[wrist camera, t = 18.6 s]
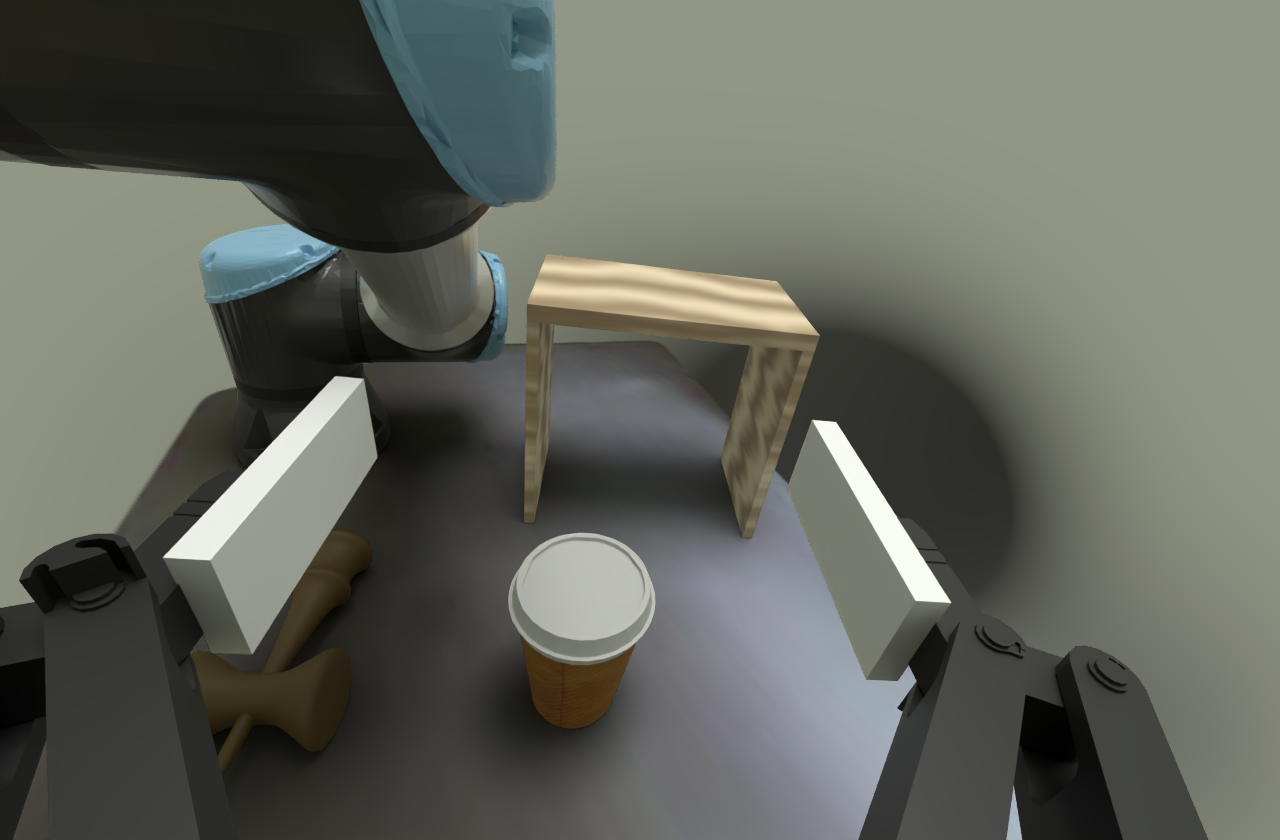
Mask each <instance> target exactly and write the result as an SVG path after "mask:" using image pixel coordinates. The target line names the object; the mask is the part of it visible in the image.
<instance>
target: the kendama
mask: <svg viewBox="0 0 1280 840" xmlns="http://www.w3.org/2000/svg"><path fill="white" fill-rule="evenodd" d="M371 562H372V549H371V547H370V545H369V543H368V542H367V541H366V540H365V539H363V538H362V537H361V536H360V535H358V534H355V533H353V532H350V531H346V530H340V529H334V530H331V531H330V533H329V534H328V536H327V538H326V539H325V541H324V542H323V544H322V545H321V547H320V549H319V550H318V552H317V553H316V555H315V556H314V558H313V560H312V561H311V563H310V564H309V566H308V568H307V569H306V571H305V572H304V574H303V575H302V577H301V579H300V580H299V582H298V583H297V585H296V586H295V588H294V590H293V591H292V593H291V595H292V600H291V603H290V607H289V609H288V612H287V615H286V618H285V620H284V623H283V625H282V628H281V630H280V633H279V635H278V637H277V640H276V642H275V644H274V647H273V649H272V651H271V653H270V655H269V657H268V660H267V662H266V664H265V666H264V668H263V670H262V672H261V673H249V672H243V671H240V670H238V669H236V668H234V667H233V666H231V665H230V664H228V663H227V662H225V661H224V660H223V659H221V658H220V657H218V656H216V655H215V654H212V653H209V652H202V651H198V652H194V653H193V654H191V657H192V659H193V660H194V663H195V667H196V671H197V675H198V679H199V683H200V688H201V692H202V696H203V700H204V704H205V708H206V712H207V716H208V720H209V724H210V728H211V732H212V735H213V734H215V733H217V732H220V731H222V730H224V729H227V728H231V727H233V728H232V730H231V732H230V734H229V735H228V737H227V739H226V741H225V743H224V745H223V747H222V749H221V750H220V752H219V754H218V756H217V757H218V761H219V765H220V769H221V773H222V777H223V776H224V775H225V773H226V771H227V770H228V768H229V766H230V765H231V763H232V761H233V759H234V758H235V756H236V754H237V753H238V751H239V749H240V747H241V746H242V744H243V742H244V741H245V739H246V737H247V735H248V734H249V732H250V730H251V729H252V727H253V725H254V724H267V725H275V726H277V727H279V728H281V729H282V730H284V731H285V732H287V733H288V734H289V735H290V736H291V737H292V738H294V739H295V740H296V741H297V742H298V743H299V744H300V745H301V746H303V747H304V748H305V749H306V750H308V751H310V752H315V751H320V750H323V749H324V748H325V746H326V745H327V744H328V743H329V741H330V740H331V739H332V737H333V736H334V734H335V732H336V730H337V728H338V726H339V724H340V722H341V720H342V717H343V714H344V711H345V708H346V705H347V702H348V697H349V692H350V687H351V665H350V659H349V657H348V655H347V653H346V651H345V650H344V649H343V648H338V647H332V648H330V649H327V650H326V651H324V652H322V653H320V654H318V655H317V656H315V657H313V658H311V659H310V660H308V661H306V662H304V663H303V664H301V665H299V666H297V667H295V668H293V669H290V670H287V669H288V668H289V666H290V664H291V663H292V661H293V660H294V658H295V657H296V655H297V654H298V652H299V651H300V650H301V648H302V647H303V645H304V644H305V642H306V641H307V640H308V638H309V637H310V635H311V634H312V633H313V631H314V630H315V629H316V627H317V626H318V625H319V623H320V622H321V621H322V620H323V618H324V617H325V616H326V615H327V614H328V613H329V612H330V611H331V610H332V609H333V608H334V607H337V606H340V605H342V604H345V603H346V602H347V600H348V599H349V598H350V595H351V587H350V585H349V584H350V581H351V580H352V578H353V577H354V576H355V575H356V574H357V573H359V572H362V571H364V570H366V569H367V568H368V566H369V565H370V563H371Z"/></svg>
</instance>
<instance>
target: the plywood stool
mask: <svg viewBox="0 0 1280 840" xmlns="http://www.w3.org/2000/svg"><path fill="white" fill-rule="evenodd" d="M554 325H562V326H571V327H581V328H591V329H600V330H609V331H619V332H628V333H638V334H647V335H656V336H666V337H675V338H685V339H695V340H704V341H713V342H723V343H732V344H742V345H750V349H749V353H748V357H747V361H746V364H745V368H744V372H743V376H742V380H741V383H740V387H739V391H738V395H737V398H736V402H735V406H734V410H733V414H732V417H731V421H730V425H729V429H728V432H727V436H726V440H725V444H724V448H723V451H722V455H721V461H722V465H723V469H724V472H725V476H726V480H727V483H728V487H729V491H730V494H731V498H732V502H733V505H734V509H735V513H736V516H737V520H738V524H739V527H740V531H741V535H742V538H752V535H753V532H754V529H755V526H756V523H757V520H758V517H759V514H760V511H761V508H762V505H763V502H764V499H765V496H766V493H767V490H768V487H769V485H770V482H771V479H772V476H773V473H774V470H775V466H776V464H777V461H778V458H779V455H780V452H781V449H782V446H783V443H784V440H785V437H786V434H787V431H788V428H789V425H790V422H791V419H792V416H793V414H794V411H795V408H796V405H797V402H798V399H799V396H800V392H801V390H802V387H803V384H804V381H805V378H806V375H807V372H808V369H809V366H810V363H811V360H812V357H813V354H814V351H815V348H816V345H817V342H818V339H819V337H820V335H819V334H818V333H817V332H816V330H815V329H814V328H813V327H812V325H811V324H810V323H809V322H808V320H807V319H806V318H805V317H804V315H803V314H802V313H801V312H800V310H799V309H798V308H797V306H796V305H795V304H794V303H793V301H792V300H791V299H790V298H789V296H788V295H787V294H786V292H785V291H784V290H783V289H782V287H781V286H780V285H779V284H778V282H776V281H768V280H760V279H751V278H743V277H735V276H726V275H718V274H708V273H700V272H693V271H683V270H676V269H667V268H659V267H650V266H641V265H633V264H625V263H617V262H608V261H600V260H591V259H582V258H575V257H566V256H558V255H549V254H547V256H546V258H545V261H544V263H543V266H542V268H541V271H540V273H539V276H538V278H537V281H536V283H535V286H534V288H533V291H532V293H531V296H530V298H529V300H528V303H527V347H526V418H525V490H524V523H534V520H535V515H536V510H537V504H538V499H539V494H540V488H541V483H542V478H543V472H544V467H545V462H546V456H547V451H548V446H549V429H550V406H551V383H552V360H553V336H554Z"/></svg>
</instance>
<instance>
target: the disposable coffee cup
mask: <svg viewBox="0 0 1280 840" xmlns="http://www.w3.org/2000/svg"><path fill="white" fill-rule="evenodd" d="M508 603H509V611H510V614H511V617H512V620H513V623H514V625H515V627H516V629H517V630H518V632H519V633H520V637H521V643H522V648H523V653H524V657H525V663H526V668H527V673H528V678H529V683H530V688H531V692H532V698H533V702H534V705H535V707H536V709H537V711H538V712H539V713H540V714H541V715H542V716H543V717H544V719H546V720H547V721H548V722H550V723H552V724H554V725H556V726H559V727H563V728H571V729H575V728H581V727H585V726H588V725H590V724H592V723H594V722H595V721H597V720H599V719H600V718H601V717H602V716H603V715H604V714H605V713H606V711H607V710H608V708H609V707H610V704H611V702H612V700H613V697H614V695H615V692H616V690H617V687H618V685H619V683H620V680H621V678H622V676H623V673H624V671H625V668H626V666H627V664H628V661H629V659H630V656H631V654H632V652H633V649H634V647H635V645H636V643H637V642H638V641H639V640H640V639H641V637H642V636H643V635H644V633H645V632H646V631H647V629H648V627H649V625H650V623H651V621H652V618H653V615H654V609H655V592H654V589H653V585H652V582H651V580H650V577H649V575H648V572H647V570H646V567H645V565H644V564H643V562H642V561H641V559H640V558H639V557H638V556H637V555H636V553H635V552H633V551H632V550H631V549H630V548H629V547H627V546H626V545H624V544H622V543H621V542H619V541H617V540H615V539H613V538H610V537H606V536H603V535H599V534H591V533H573V534H566V535H561V536H558V537H555V538H553V539H550V540H548V541H546V542H544V543H543V544H541V545H539V546H538V547H537V548H536V549H535V550H533V551H532V552H531V553H530V554H529V555H528V556H527V557H526V559H525V560H524V562H523V564H522V566H521V567H520V568H519V570H518V571H517V573H516V574H515V576H514V578H513V580H512V583H511V587H510V590H509V598H508Z"/></svg>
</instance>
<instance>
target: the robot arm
mask: <svg viewBox="0 0 1280 840" xmlns="http://www.w3.org/2000/svg"><path fill="white" fill-rule="evenodd" d="M556 132H557V131H556V55H555V14H554V0H0V161H9V162H20V163H34V164H45V165H49V166H60V167H72V168H86V169H100V170H107V171H118V172H131V173H143V174H156V175H168V176H181V177H194V178H206V179H218V180H232V181H239V182H242V183H243V184H244V185H245V186H246V187H247V188H248V189H249V190H250V191H251V192H252V193H253V194H254V195H255V196H256V198H258V199H259V200H260V201H261V202H262V203H263V204H264V205H265V206H266V207H267V208H269V209H270V210H271V211H272V212H273V213H274V214H275V215H277V216H278V217H280V218H281V219H282V220H284V221H285V222H286V223H288V224H282V225H273V226H265V227H259V228H253V229H248V230H244V231H240V232H236V233H232V234H229V235H226V236H224V237H221V238H219V239H217V240H215V241H213V242H211V243H210V244H208V245H207V246H206V247H205V248H204V249H203V250H202V252H201V254H200V257H199V267H200V271H201V275H202V279H203V283H204V287H205V291H206V292H205V299H206V302H207V303H209V306H210V309H211V312H212V315H213V318H214V320H215V324H216V326H217V330H218V333H219V336H220V338H221V342H222V344H223V347H224V350H225V353H226V356H227V359H228V362H229V365H230V368H231V371H232V374H233V377H234V380H235V383H236V386H237V390H238V396H237V405H236V413H235V422H234V430H233V443H234V446H235V449H236V452H237V455H238V458H239V460H240V462H241V464H242V465H243V466H244V467H245V468H246V469H247V470H246V471H242V470H227V471H225V472H223V473H221V474H219V475H218V476H216V477H214V478H212V479H211V480H209V481H207V482H205V483H204V484H203V485H202V486H201V487H200V488H199V489H198V490H197V491H196V492H195V493H194V494H193V495H191V496H190V497H189V498H188V499H187V503H183V504H182V505H181V506H180V507H179V508H178V509H177V510H176V511H175V512H174V513H173V514H174V515H173V517H169V518H168V519H167V520H166V521H165V522H164V523H163V524H162V525H161V526H160V527H159V528H158V529H157V530H156V531H155V532H154V533H153V534H152V535H151V536H150V537H148V538H147V539H146V540H145V541H144V542H143V543H142V544H141V545H140V546H139V547H138V548H137V549H136V550H135V551H134V552H133V550H132V548H131V547H130V545H129V543H128V542H127V541H126V539H125V538H124V537H121V536H118V535H115V534H92V535H88V536H83V537H79V538H74V539H72V540H69V541H67V542H64V543H61V544H59V545H56V546H54V547H52V548H51V549H49V550H47V551H46V552H44V553H42V554H41V555H39V556H37V557H36V558H35V559H34V560H33V561H32V562H31V563H30V564H29V565H28V566H27V567H26V568H24V570H23V572H22V575H21V577H20V580H19V581H20V583H21V584H22V585H23V586H24V588H25V589H26V590H27V592H28V593H29V594H30V596H31V597H32V598H33V600H34V601H35V602H33V603H27V604H21V605H15V606H9V607H4V608H0V840H12V839H13V836H14V833H15V830H16V827H17V824H18V821H19V819H20V816H21V813H22V810H23V807H24V804H25V801H26V798H27V795H28V792H29V789H30V786H31V783H32V780H33V777H34V774H35V771H36V768H37V765H38V762H39V759H40V756H41V753H42V750H43V747H44V745H45V742H46V739H47V772H48V816H49V840H238V839H237V835H236V831H235V826H234V822H233V818H232V814H231V810H230V806H229V802H228V798H227V794H226V790H225V786H224V781H223V777H222V773H221V769H220V765H219V761H218V757H217V753H216V749H215V745H214V741H213V737H212V732H211V728H210V724H209V720H208V716H207V712H206V708H205V704H204V700H203V696H202V692H201V688H200V683H199V679H198V675H197V671H196V667H195V663H194V660H193V659H192V657H191V655H190V651H191V650H192V649H193V647H194V646H195V645H196V643H197V642H198V641H199V639H200V638H201V637H202V635H203V637H204V639H205V641H206V642H207V644H208V646H209V648H210V650H211V652H212V653H229V654H253V653H254V651H255V649H256V648H257V646H258V645H259V643H260V642H261V640H262V638H263V637H264V635H265V634H266V632H267V631H268V629H269V627H270V626H271V624H272V623H273V621H274V619H275V618H276V616H277V615H278V613H279V612H280V610H281V608H282V607H283V605H284V604H285V602H286V601H287V599H288V597H289V596H290V594H291V593H292V591H293V590H294V588H295V586H296V585H297V583H298V582H299V580H300V579H301V577H302V575H303V574H304V572H305V571H306V569H307V568H308V566H309V564H310V563H311V561H312V560H313V558H314V556H315V555H316V553H317V552H318V550H319V549H320V547H321V545H322V544H323V542H324V541H325V539H326V538H327V536H328V534H329V533H330V531H331V530H332V528H333V527H334V525H335V523H336V522H337V520H338V519H339V517H340V516H341V514H342V512H343V511H344V509H345V508H346V506H347V505H348V503H349V501H350V500H351V498H352V497H353V495H354V493H355V492H356V490H357V489H358V487H359V486H360V484H361V482H362V481H363V479H364V478H365V476H366V475H367V473H368V471H369V470H370V468H371V467H372V465H373V464H374V462H375V460H376V459H377V454H378V453H380V451H381V450H382V449H383V448H384V447H385V446H386V444H387V443H388V441H389V438H390V433H391V430H390V424H389V417H388V413H387V411H386V408H385V407H384V405H383V403H382V402H381V400H380V398H379V397H378V395H377V393H376V392H375V390H374V388H373V387H372V385H371V383H370V382H369V380H368V379H367V377H366V375H365V373H364V369H363V363H374V362H466V363H476V362H478V361H488V360H492V359H495V358H496V357H498V356H499V354H500V353H501V351H502V349H503V347H504V343H505V332H506V329H507V320H508V295H507V283H506V276H505V271H504V268H503V265H502V263H501V261H500V259H499V258H498V257H497V256H496V255H494V254H491V253H485V252H483V251H479V250H478V222H479V221H480V220H481V218H483V217H484V216H485V215H486V214H487V212H488V211H489V210H490V208H491V207H492V206H493V207H508V206H510V205H512V204H514V203H517V202H536V201H539V200H541V199H543V198H545V197H546V196H547V195H548V194H549V193H550V192H551V190H552V189H553V187H554V183H555V177H556V153H557V152H556V151H557V148H556V147H557V138H556V137H557V134H556ZM787 490H788V493H789V495H790V497H791V500H792V502H793V505H794V507H795V509H796V512H797V514H798V517H799V519H800V521H801V524H802V526H803V529H804V531H805V534H806V536H807V538H808V541H809V543H810V546H811V548H812V550H813V553H814V555H815V558H816V560H817V562H818V565H819V567H820V570H821V572H822V575H823V577H824V579H825V582H826V584H827V587H828V589H829V591H830V594H831V596H832V599H833V601H834V603H835V606H836V608H837V611H838V613H839V616H840V618H841V620H842V623H843V625H844V628H845V630H846V632H847V635H848V637H849V640H850V642H851V644H852V647H853V649H854V652H855V654H856V657H857V659H858V661H859V664H860V666H861V669H862V671H863V673H864V676H865V678H866V680H888V681H898V680H899V678H900V677H901V675H902V674H903V673H904V671H905V670H906V668H907V667H908V665H909V666H910V668H911V670H912V673H913V675H914V677H915V679H916V683H915V684H914V686H913V687H912V688H911V690H910V691H909V693H908V694H907V695H906V697H905V698H904V700H903V701H902V702H901V704H900V705H899V706H898V709H899V710H901V711H903V713H902V716H901V719H900V722H899V725H898V727H897V730H896V733H895V736H894V739H893V742H892V745H891V748H890V750H889V753H888V756H887V759H886V762H885V765H884V768H883V770H882V773H881V776H880V779H879V782H878V785H877V788H876V791H875V793H874V796H873V799H872V802H871V805H870V808H869V811H868V814H867V816H866V819H865V822H864V825H863V828H862V831H861V834H860V837H859V839H858V840H1006V838H1007V830H1008V823H1009V815H1010V808H1011V800H1012V793H1013V785H1014V789H1015V795H1016V802H1017V808H1018V815H1019V821H1020V827H1021V834H1022V840H1208V838H1207V836H1206V833H1205V831H1204V828H1203V826H1202V823H1201V821H1200V819H1199V816H1198V814H1197V812H1196V809H1195V807H1194V804H1193V802H1192V800H1191V797H1190V795H1189V792H1188V790H1187V787H1186V785H1185V783H1184V780H1183V778H1182V775H1181V773H1180V770H1179V768H1178V766H1177V763H1176V761H1175V759H1174V756H1173V754H1172V752H1171V749H1170V746H1169V744H1168V742H1167V739H1166V737H1165V734H1164V732H1163V730H1162V727H1161V725H1160V722H1159V720H1158V717H1157V715H1156V713H1155V710H1154V708H1153V705H1152V703H1151V701H1150V698H1149V696H1148V693H1147V691H1146V689H1145V688H1144V686H1143V685H1142V683H1141V681H1140V680H1139V678H1138V677H1137V676H1136V675H1135V674H1134V673H1133V672H1132V671H1131V670H1130V669H1129V668H1128V667H1127V666H1125V665H1124V664H1123V663H1121V662H1120V661H1118V660H1117V659H1116V658H1114V657H1113V656H1111V655H1109V654H1107V653H1105V652H1103V651H1101V650H1099V649H1096V648H1092V647H1088V646H1075V647H1074V648H1073V649H1072V650H1071V651H1070V652H1069V653H1068V654H1067V655H1066V656H1065V657H1064V658H1061V657H1059V656H1055V655H1053V654H1049V653H1046V652H1043V651H1040V650H1036V649H1034V648H1031V647H1028V646H1026V645H1025V643H1024V641H1023V639H1022V638H1021V637H1020V636H1019V635H1018V634H1017V633H1016V632H1015V631H1014V630H1013V629H1012V628H1011V627H1009V626H1008V625H1006V624H1005V623H1003V622H1002V621H1000V620H999V619H997V618H994V617H992V616H989V615H987V614H983V613H981V612H980V610H979V609H978V607H977V606H976V605H975V603H974V601H973V600H972V599H971V597H970V596H969V594H968V593H967V591H966V590H965V588H964V587H963V585H962V584H961V582H960V581H959V580H958V578H957V576H956V575H955V574H954V572H953V571H952V569H951V568H950V566H947V562H946V561H945V559H944V558H943V556H942V555H941V553H939V552H938V549H937V547H936V546H935V544H934V543H933V541H932V540H931V539H930V537H929V535H928V534H927V533H926V532H925V531H924V530H922V529H921V528H920V527H919V526H918V525H917V524H916V523H915V522H913V521H912V520H911V519H910V518H897V517H896V515H895V514H894V512H893V511H892V509H891V508H890V506H889V504H888V503H887V502H886V500H885V498H884V497H883V495H882V493H881V492H880V490H879V489H878V487H877V486H876V484H875V483H874V481H873V479H872V478H871V476H870V475H869V473H868V472H867V470H866V468H865V467H864V465H863V464H862V462H861V461H860V459H859V457H858V456H857V454H856V453H855V451H854V450H853V448H852V447H851V445H850V443H849V442H848V440H847V439H846V437H845V436H844V434H843V432H842V431H841V429H840V428H839V426H838V425H837V423H836V422H827V421H815V420H812V422H811V425H810V427H809V430H808V433H807V436H806V439H805V441H804V444H803V447H802V449H801V452H800V455H799V458H798V460H797V463H796V466H795V469H794V472H793V474H792V477H791V480H790V482H789V485H788V488H787Z"/></svg>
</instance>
